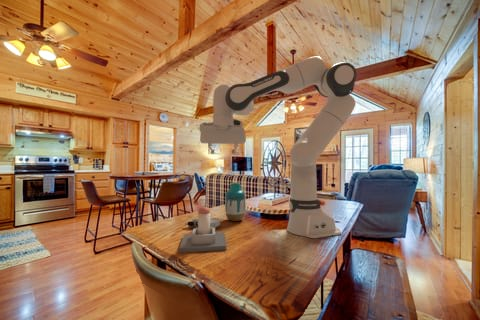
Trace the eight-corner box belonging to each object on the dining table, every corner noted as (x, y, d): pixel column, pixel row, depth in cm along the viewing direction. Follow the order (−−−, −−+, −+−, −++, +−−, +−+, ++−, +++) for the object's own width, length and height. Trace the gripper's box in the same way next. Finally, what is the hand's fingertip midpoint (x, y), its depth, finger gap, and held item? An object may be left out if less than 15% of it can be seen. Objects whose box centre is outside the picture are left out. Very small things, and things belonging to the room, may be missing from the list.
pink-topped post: (210, 236, 81) (210, 205, 81) (209, 241, 77) (209, 208, 77) (198, 237, 81) (198, 205, 81) (197, 241, 76) (197, 208, 76)
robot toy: (183, 230, 96) (205, 234, 87) (182, 220, 97) (204, 223, 87) (203, 223, 106) (225, 227, 97) (202, 214, 106) (224, 217, 97)
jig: (224, 235, 87) (224, 224, 87) (226, 250, 73) (226, 237, 73) (184, 237, 85) (184, 226, 85) (179, 252, 71) (179, 239, 71)
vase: (224, 223, 103) (224, 184, 103) (225, 217, 114) (225, 182, 114) (246, 223, 103) (245, 184, 103) (245, 217, 114) (245, 182, 114)
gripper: (198, 121, 89) (199, 153, 89) (246, 122, 92) (246, 153, 92) (199, 123, 95) (199, 153, 95) (244, 124, 98) (244, 153, 98)
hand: (223, 153), depth 93 cm, fingers open, 8 cm apart
